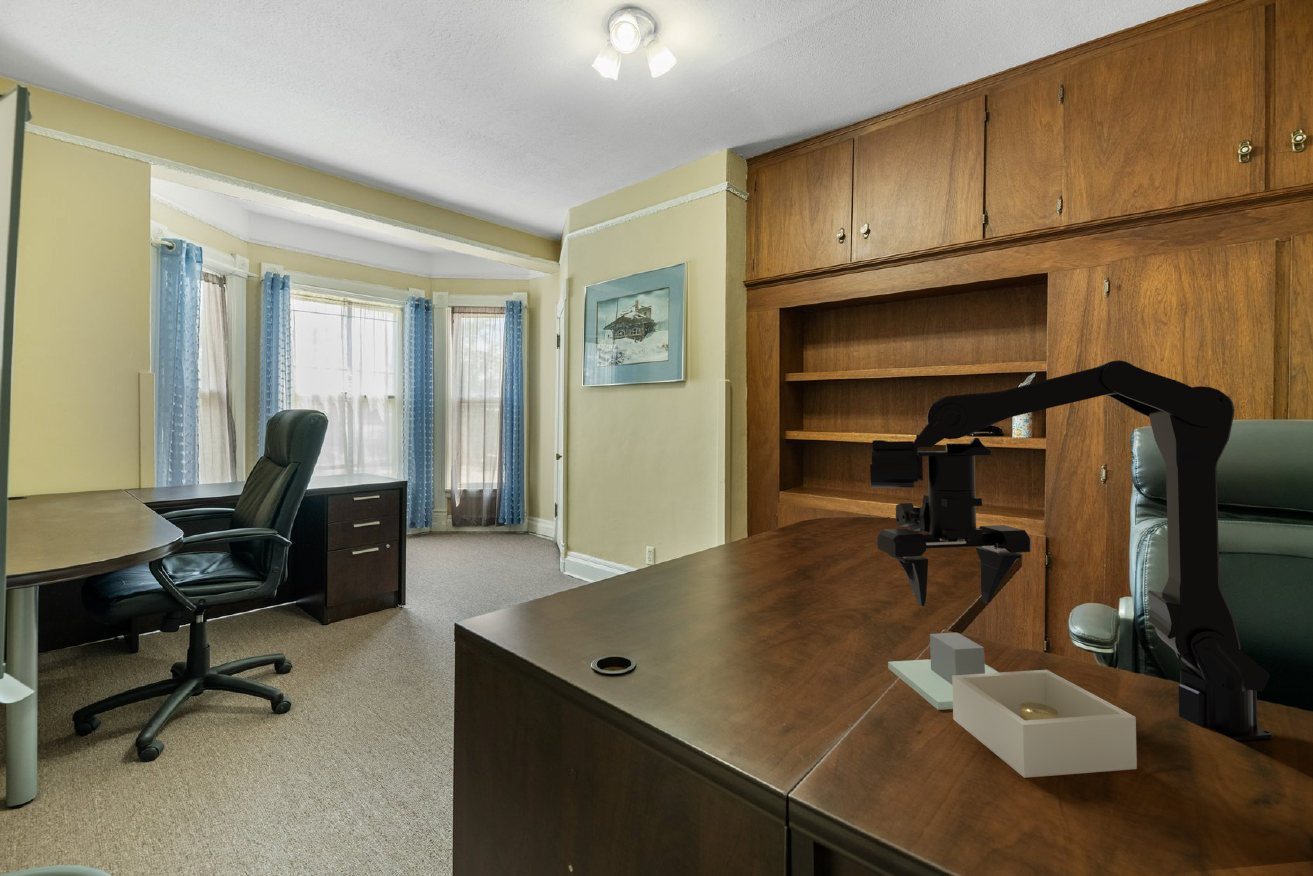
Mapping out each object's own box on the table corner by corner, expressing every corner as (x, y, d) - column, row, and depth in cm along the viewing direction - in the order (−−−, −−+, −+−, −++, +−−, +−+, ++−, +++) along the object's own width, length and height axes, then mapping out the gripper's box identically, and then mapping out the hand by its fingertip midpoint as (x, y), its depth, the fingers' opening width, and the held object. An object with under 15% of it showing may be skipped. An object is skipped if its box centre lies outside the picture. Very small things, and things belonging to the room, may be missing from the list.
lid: (973, 670, 86) (972, 623, 86) (1037, 711, 73) (1036, 655, 73) (888, 675, 85) (887, 627, 85) (938, 718, 72) (936, 661, 72)
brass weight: (1042, 727, 67) (1041, 701, 67) (1066, 743, 64) (1066, 716, 64) (1012, 729, 67) (1012, 703, 67) (1035, 745, 64) (1034, 718, 64)
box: (1047, 719, 71) (1046, 669, 71) (1136, 776, 59) (1135, 717, 59) (953, 725, 70) (952, 675, 70) (1024, 785, 58) (1023, 724, 58)
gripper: (979, 482, 88) (981, 585, 88) (859, 486, 87) (861, 591, 87) (1033, 489, 77) (1035, 607, 77) (896, 493, 75) (898, 614, 76)
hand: (953, 603), depth 79 cm, fingers open, 9 cm apart
